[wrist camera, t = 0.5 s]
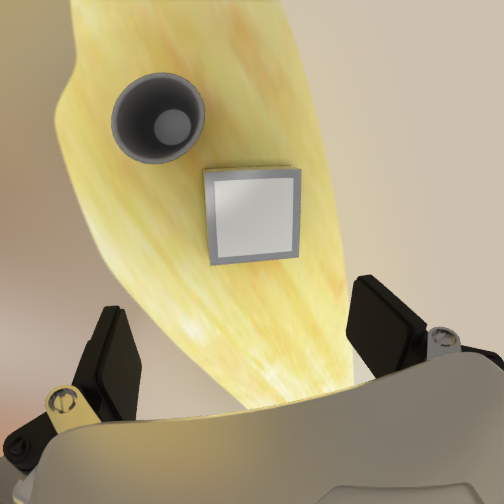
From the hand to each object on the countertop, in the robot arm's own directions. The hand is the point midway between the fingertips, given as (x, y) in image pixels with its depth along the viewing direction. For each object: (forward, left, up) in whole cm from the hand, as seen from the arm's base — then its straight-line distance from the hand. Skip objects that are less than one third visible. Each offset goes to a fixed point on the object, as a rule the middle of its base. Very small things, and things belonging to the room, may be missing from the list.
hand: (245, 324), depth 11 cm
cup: (-9, -4, -27) cm, 29 cm away
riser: (+2, +5, -27) cm, 27 cm away
